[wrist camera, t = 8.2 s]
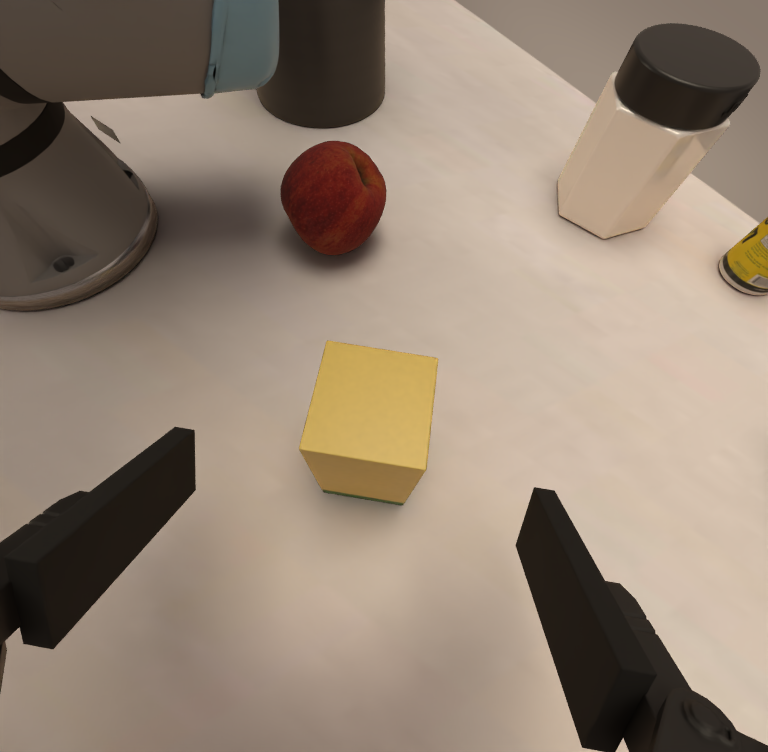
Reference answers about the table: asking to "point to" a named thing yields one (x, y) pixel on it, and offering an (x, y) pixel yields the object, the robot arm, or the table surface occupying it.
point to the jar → (653, 126)
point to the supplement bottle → (748, 262)
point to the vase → (328, 62)
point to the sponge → (370, 422)
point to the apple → (333, 197)
